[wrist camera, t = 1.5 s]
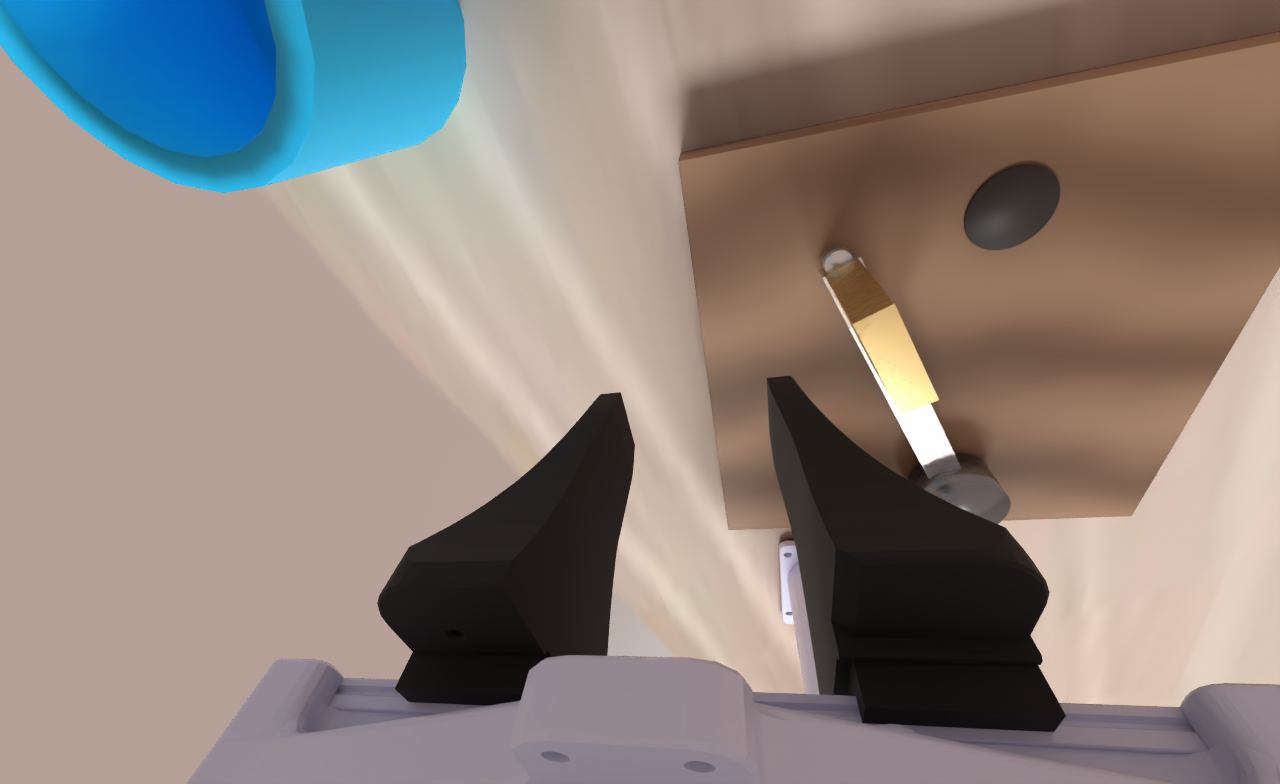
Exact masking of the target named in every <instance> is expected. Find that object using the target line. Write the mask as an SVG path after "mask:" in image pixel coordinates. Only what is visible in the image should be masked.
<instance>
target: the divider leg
mask: <svg viewBox="0 0 1280 784" xmlns="http://www.w3.org/2000/svg"><path fill="white" fill-rule="evenodd" d="M821 264H822V266H823V268H821V269H819V270H818V271H819V273H820V275H821V277H822V279H823V281H824V283H825V284H826V286H827V288H828V290H829V292H830V294H831V296H832V298H833V300H834V301H835V303H836V305H837V307H838V309H839V311H840V313H841V315H842V316H843V318H844V320H845V322H846V324H847V326H848V328H849V330H850V332H851V333H852V335H853V337H854V339H855V341H856V343H857V345H858V347H859V349H860V350H861V352H862V354H863V356H864V358H865V360H866V362H867V364H868V365H869V367H870V369H871V371H872V373H873V375H874V377H875V379H876V381H877V382H878V384H879V386H880V388H881V390H882V392H883V394H884V396H885V398H886V399H887V401H888V403H889V405H890V407H891V409H892V411H893V413H894V415H895V416H896V418H897V420H898V422H899V424H900V426H901V428H902V430H903V431H904V433H905V435H906V437H907V439H908V441H909V443H910V445H911V447H912V448H913V450H914V452H915V454H916V456H917V458H918V460H919V462H920V465H919V466H917V467H916V468H915V469H914V470H913V471H912V473H911V474H910V476H909V478H908V481H910V482H912V483H913V484H915V485H917V486H919V487H920V488H922V489H924V490H926V491H927V492H929V493H931V494H933V495H935V496H937V497H939V498H941V499H943V500H945V501H947V502H949V503H951V504H953V505H955V506H957V507H959V508H961V509H964V510H966V511H968V512H970V513H973V514H975V515H977V516H980V517H982V518H984V519H987V520H989V521H991V522H993V523H996V524H998V523H1000V522H1001V521H1002V520H1003V519H1004V518H1005V517H1006V516H1007V514H1008V512H1009V510H1010V507H1011V501H1010V498H1009V496H1008V495H1007V493H1006V492H1005V491H1004V489H1003V488H1002V486H1001V485H1000V484H999V482H998V481H997V479H996V478H995V477H994V475H993V474H992V472H991V471H990V470H989V468H988V467H987V465H986V464H985V463H984V462H983V461H982V460H981V459H980V458H978V457H976V456H973V455H970V454H964V453H954V452H953V450H952V447H951V445H950V443H949V441H948V439H947V437H946V435H945V433H944V431H943V428H942V426H941V424H940V422H939V420H938V418H937V416H936V414H935V412H934V410H933V407H932V405H931V403H933V402H935V401H938V400H939V399H938V396H937V394H936V392H935V390H934V388H933V386H932V383H931V381H930V379H929V377H928V375H927V373H926V370H925V368H924V366H923V364H922V362H921V360H920V357H919V355H918V353H917V351H916V349H915V347H914V344H913V342H912V340H911V338H910V336H909V334H908V331H907V329H906V327H905V325H904V323H903V321H902V318H901V316H900V314H899V312H898V310H897V308H896V306H895V303H894V302H893V301H892V300H891V298H890V297H889V296H888V295H887V294H886V292H885V291H884V290H883V289H882V287H881V286H880V285H879V284H878V282H877V281H876V280H875V279H874V277H873V276H872V275H871V274H870V273H869V271H868V270H867V269H866V267H865V264H864V262H863V260H862V258H861V256H860V255H859V254H858V253H857V252H856V250H853V251H851V252H849V251H848V250H847V249H846V248H845V247H844V246H842V245H833V246H831V247H829V248H827V249H826V250H825V251H824V252H823V254H822V256H821Z"/></svg>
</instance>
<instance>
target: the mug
mask: <svg viewBox="0 0 1280 784" xmlns="http://www.w3.org/2000/svg"><path fill="white" fill-rule="evenodd" d="M0 45H1V46H2V48H3V49H4V50H5V52H6V53H7V54H8V56H9V57H10V58H11V60H12V61H13V62H14V64H15V65H17V67H19V69H20V70H22V72H23V73H24V74H25V75H26V76H27V77H29V79H30V80H31V81H32V82H33V83H34V84H35V85H36V86H38V88H39V89H40V90H42V92H43V93H44V94H45V95H46V96H47V97H48V98H49V99H50V100H51V101H52V102H53V103H54V104H55V105H57V107H59V109H60V110H61V111H62V112H63V113H64V114H65V115H66V116H67V117H68V118H69V119H71V120H72V121H73V122H75V123H76V124H78V125H79V126H80V127H82V128H83V129H84V130H86V131H87V132H88V133H90V134H91V135H93V136H94V137H95V138H97V139H98V140H100V141H101V142H102V143H103V144H105V145H106V146H108V147H109V148H110V149H112V150H113V151H114V152H116V153H117V154H119V155H120V156H121V157H122V158H124V159H126V160H128V161H130V162H132V163H134V164H136V165H138V166H140V167H142V168H144V169H147V170H149V171H151V172H153V173H155V174H157V175H159V176H161V177H163V178H165V179H168V180H169V181H172V182H174V183H176V184H180V185H185V186H190V187H195V188H200V189H206V190H210V191H216V192H221V193H226V192H232V191H238V190H244V189H250V188H256V187H262V186H266V185H270V184H273V183H277V182H281V181H284V180H288V179H292V178H295V177H299V176H303V175H306V174H310V173H314V172H318V171H321V170H325V169H329V168H332V167H336V166H340V165H343V164H347V163H351V162H354V161H358V160H362V159H365V158H369V157H373V156H377V155H380V154H384V153H388V152H391V151H395V150H399V149H402V148H406V147H410V146H413V145H417V144H419V143H421V142H422V141H424V140H425V139H427V138H428V137H430V136H431V135H432V134H434V133H435V132H437V131H438V130H440V129H441V128H442V127H443V125H444V123H445V122H446V120H447V119H448V117H449V115H450V114H451V112H452V111H453V109H454V107H455V106H456V104H457V103H458V100H459V96H460V91H461V87H462V82H463V78H464V73H465V69H466V51H465V32H464V20H463V16H462V13H461V9H460V6H459V3H458V0H0Z"/></svg>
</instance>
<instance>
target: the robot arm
mask: <svg viewBox="0 0 1280 784" xmlns="http://www.w3.org/2000/svg"><path fill="white" fill-rule="evenodd" d="M767 395H768V415H769V434H770V442H771V449H772V455H773V462H774V468H775V471H776V475H777V479H778V482H779V486H780V490H781V493H782V497H783V501H784V504H785V508H786V511H787V515H788V519H789V522H790V526H791V530H792V533H793V537H794V541H783V542H781V543H780V544H779V560H780V583H781V606H782V620H783V622H784V623H786V624H794V628H795V634H796V640H797V646H798V652H799V658H800V664H801V670H802V677H803V683H804V689H805V694H789V693H761V692H752V689H751V688H750V686H749V685H748V683H747V682H746V681H745V679H744V678H743V677H742V676H741V675H740V674H739V673H738V672H737V671H735V670H733V669H731V668H729V667H726V666H724V665H722V664H720V663H718V662H715V661H708V660H702V659H695V658H684V657H637V656H636V657H635V656H607V650H608V636H609V621H610V610H611V599H612V587H613V578H614V569H615V559H616V552H617V546H618V540H619V536H620V531H621V527H622V522H623V517H624V513H625V508H626V504H627V499H628V494H629V490H630V485H631V480H632V475H633V464H634V449H635V444H634V441H633V437H632V433H631V429H630V426H629V422H628V418H627V414H626V411H625V407H624V403H623V399H622V396H621V392H620V393H610V394H601V395H600V396H599V397H598V398H597V399H596V400H595V401H594V402H593V404H592V405H591V406H590V407H589V408H588V410H587V411H586V412H585V413H584V414H583V416H582V417H581V418H580V419H579V420H578V421H577V423H576V424H575V425H574V426H573V427H572V428H571V429H570V430H569V432H568V433H567V434H566V435H565V436H564V437H563V438H562V439H561V440H560V441H559V442H558V443H557V444H556V445H555V446H554V447H553V448H552V450H551V451H550V452H549V453H548V454H547V455H546V456H545V457H544V458H543V459H542V460H541V461H539V462H538V463H537V464H536V465H535V466H534V467H533V468H532V469H531V470H529V471H528V472H527V473H526V474H525V475H524V476H522V477H521V478H520V479H519V480H518V481H516V482H515V483H514V484H513V485H511V486H510V487H509V488H507V489H506V490H504V491H503V492H502V493H500V494H499V495H498V496H496V497H495V498H493V499H492V500H491V501H489V502H488V503H486V504H485V505H483V506H482V507H480V508H479V509H477V510H476V511H474V512H473V513H471V514H469V515H468V516H466V517H464V518H463V519H461V520H460V521H458V522H456V523H454V524H453V525H451V526H449V527H447V528H445V529H444V530H442V531H440V532H438V533H436V534H434V535H432V536H430V537H428V538H427V539H424V540H423V541H421V542H419V543H417V544H415V545H412V546H411V547H409V548H408V550H407V552H406V553H405V555H404V557H403V558H402V560H401V561H400V563H399V564H398V566H397V568H396V569H395V571H394V573H393V574H392V576H391V577H390V579H389V581H388V582H387V584H386V586H385V587H384V589H383V590H382V592H381V594H380V596H379V599H378V607H379V611H380V614H381V616H382V618H383V619H384V620H385V622H386V623H387V624H388V625H389V626H390V628H391V629H392V630H393V631H394V632H395V633H396V634H397V635H398V636H399V637H400V638H401V639H402V640H403V642H404V643H405V644H406V645H407V646H408V647H409V648H410V649H411V650H412V651H413V653H412V655H411V657H410V659H409V661H408V663H407V665H406V667H405V669H404V671H403V673H402V675H401V677H400V679H399V680H392V679H391V680H390V679H364V678H343V676H342V674H341V673H340V672H339V671H338V670H337V669H336V668H335V667H334V666H332V665H330V664H329V663H327V662H324V661H321V660H315V659H278V660H276V661H275V662H274V663H273V665H272V666H271V667H270V669H269V670H268V672H267V673H266V674H265V676H264V677H263V678H262V680H261V681H260V683H259V684H258V685H257V687H256V688H255V690H254V691H253V693H252V694H251V695H250V697H249V698H248V699H247V701H246V702H245V703H244V705H243V706H242V708H241V709H240V711H239V712H238V713H237V715H236V716H235V718H234V719H233V720H232V722H231V723H230V724H229V726H228V727H227V729H226V730H225V731H224V733H223V734H222V735H221V737H220V738H219V740H218V741H217V742H216V744H215V745H214V747H213V748H212V749H211V751H210V752H209V754H208V755H207V756H206V758H205V759H204V760H203V762H202V763H201V765H200V766H199V767H198V769H197V770H196V772H195V773H194V774H193V776H192V777H191V778H190V780H189V782H188V783H187V784H1280V685H1273V684H1234V683H1223V684H1211V685H1207V686H1203V687H1199V688H1197V689H1195V690H1193V691H1192V692H1190V693H1189V694H1188V695H1187V696H1186V697H1185V699H1184V700H1183V702H1182V704H1181V706H1180V707H1157V706H1129V705H1100V704H1072V703H1059V702H1058V700H1057V699H1056V697H1055V695H1054V693H1053V691H1052V690H1051V688H1050V686H1049V684H1048V682H1047V681H1046V679H1045V677H1044V675H1043V674H1042V672H1041V670H1040V668H1039V666H1038V665H1041V663H1042V661H1043V660H1042V655H1041V653H1040V652H1039V650H1038V648H1037V646H1036V645H1035V643H1034V641H1033V639H1032V638H1031V636H1030V635H1031V633H1032V631H1033V629H1034V627H1035V625H1036V623H1037V621H1038V620H1039V618H1040V616H1041V614H1042V612H1043V610H1044V608H1045V606H1046V604H1047V600H1048V596H1049V590H1048V586H1047V583H1046V581H1045V579H1044V578H1043V576H1042V575H1041V573H1040V572H1039V570H1038V569H1037V567H1036V566H1035V564H1034V563H1033V561H1032V560H1031V558H1030V557H1029V556H1028V554H1027V553H1026V552H1025V551H1024V549H1023V548H1022V547H1021V546H1020V544H1019V543H1018V542H1017V541H1016V540H1015V539H1014V538H1013V536H1012V535H1011V534H1010V533H1009V531H1008V530H1007V529H1006V528H1005V527H1003V526H1000V525H998V524H996V523H993V522H991V521H989V520H987V519H984V518H982V517H980V516H977V515H975V514H973V513H970V512H968V511H966V510H964V509H961V508H959V507H957V506H955V505H953V504H951V503H949V502H947V501H945V500H943V499H941V498H939V497H937V496H935V495H933V494H931V493H929V492H927V491H926V490H924V489H922V488H920V487H919V486H917V485H915V484H913V483H912V482H910V481H908V480H907V479H905V478H903V477H902V476H900V475H899V474H897V473H895V472H894V471H892V470H890V469H889V468H887V467H886V466H884V465H883V464H881V463H880V462H879V461H877V460H876V459H874V458H873V457H872V456H870V455H869V454H868V453H866V452H865V451H864V450H863V449H861V448H860V447H859V446H858V445H856V444H855V443H854V442H853V441H852V440H851V439H849V438H848V437H847V436H846V435H845V434H844V433H843V432H842V431H840V430H839V429H838V428H837V427H836V426H835V425H834V424H833V423H832V422H831V421H830V420H829V419H828V418H827V417H826V416H825V415H824V414H823V413H822V412H821V411H820V410H819V409H818V408H817V406H816V405H815V404H814V403H813V402H812V401H811V400H810V399H809V397H808V396H807V395H806V394H805V393H804V391H803V390H802V389H801V388H800V386H799V385H798V384H797V382H796V381H795V379H794V378H792V377H791V376H781V377H771V378H767Z"/></svg>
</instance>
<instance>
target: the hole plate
mask: <svg viewBox="0 0 1280 784" xmlns="http://www.w3.org/2000/svg"><path fill="white" fill-rule="evenodd" d="M679 169H680V176H681V184H682V191H683V198H684V206H685V213H686V220H687V228H688V235H689V243H690V250H691V257H692V265H693V272H694V279H695V287H696V294H697V302H698V309H699V316H700V324H701V331H702V339H703V346H704V353H705V361H706V368H707V375H708V383H709V390H710V398H711V405H712V412H713V420H714V427H715V434H716V442H717V449H718V457H719V464H720V471H721V479H722V486H723V493H724V501H725V508H726V516H727V523H728V530H741V529H770V528H791V526H790V522H789V519H788V515H787V511H786V508H785V504H784V501H783V497H782V493H781V490H780V486H779V482H778V479H777V475H776V471H775V468H774V462H773V455H772V449H771V442H770V434H769V415H768V395H767V378H771V377H781V376H791V377H792V378H794V379H795V381H796V382H797V384H798V385H799V386H800V388H801V389H802V390H803V391H804V393H805V394H806V395H807V396H808V397H809V399H810V400H811V401H812V402H813V403H814V404H815V405H816V406H817V408H818V409H819V410H820V411H821V412H822V413H823V414H824V415H825V416H826V417H827V418H828V419H829V420H830V421H831V422H832V423H833V424H834V425H835V426H836V427H837V428H838V429H839V430H840V431H842V432H843V433H844V434H845V435H846V436H847V437H848V438H849V439H851V440H852V441H853V442H854V443H855V444H856V445H858V446H859V447H860V448H861V449H863V450H864V451H865V452H866V453H868V454H869V455H870V456H872V457H873V458H874V459H876V460H877V461H879V462H880V463H881V464H883V465H884V466H886V467H887V468H889V469H890V470H892V471H894V472H895V473H897V474H899V475H900V476H902V477H903V478H905V479H907V480H908V478H909V476H910V474H911V473H912V471H913V470H914V469H915V468H916V467H917V466H919V465H920V462H919V460H918V458H917V456H916V454H915V452H914V450H913V448H912V447H911V445H910V443H909V441H908V439H907V437H906V435H905V433H904V431H903V430H902V428H901V426H900V424H899V422H898V420H897V418H896V416H895V415H894V413H893V411H892V409H891V407H890V405H889V403H888V401H887V399H886V398H885V396H884V394H883V392H882V390H881V388H880V386H879V384H878V382H877V381H876V379H875V377H874V375H873V373H872V371H871V369H870V367H869V365H868V364H867V362H866V360H865V358H864V356H863V354H862V352H861V350H860V349H859V347H858V345H857V343H856V341H855V339H854V337H853V335H852V333H851V332H850V330H849V328H848V326H847V324H846V322H845V320H844V318H843V316H842V315H841V313H840V311H839V309H838V307H837V305H836V303H835V301H834V300H833V298H832V296H831V294H830V292H829V290H828V288H827V286H826V284H825V283H824V281H823V279H822V277H821V275H820V273H819V271H818V270H819V269H821V268H823V266H822V264H821V256H822V254H823V252H824V251H825V250H826V249H827V248H829V247H831V246H833V245H842V246H844V247H845V248H846V249H847V250H848V251H849V252H851V251H853V250H856V252H857V253H858V254H859V255H860V256H861V258H862V260H863V262H864V264H865V267H866V269H867V270H868V271H869V273H870V274H871V275H872V276H873V277H874V279H875V280H876V281H877V282H878V284H879V285H880V286H881V287H882V289H883V290H884V291H885V292H886V294H887V295H888V296H889V297H890V298H891V300H892V301H893V302H894V303H895V306H896V308H897V310H898V312H899V314H900V316H901V318H902V321H903V323H904V325H905V327H906V329H907V331H908V334H909V336H910V338H911V340H912V342H913V344H914V347H915V349H916V351H917V353H918V355H919V357H920V360H921V362H922V364H923V366H924V368H925V370H926V373H927V375H928V377H929V379H930V381H931V383H932V386H933V388H934V390H935V392H936V394H937V396H938V399H939V400H938V401H935V402H933V403H931V405H932V407H933V410H934V412H935V414H936V416H937V418H938V420H939V422H940V424H941V426H942V428H943V431H944V433H945V435H946V437H947V439H948V441H949V443H950V445H951V447H952V450H953V452H954V453H964V454H970V455H973V456H976V457H978V458H980V459H981V460H982V461H983V462H984V463H985V464H986V465H987V467H988V468H989V470H990V471H991V472H992V474H993V475H994V477H995V478H996V479H997V481H998V482H999V484H1000V485H1001V486H1002V488H1003V489H1004V491H1005V492H1006V493H1007V495H1008V496H1009V498H1010V501H1011V507H1010V510H1009V512H1008V514H1007V516H1006V517H1005V518H1004V519H1003V520H1030V519H1059V518H1088V517H1117V516H1132V514H1133V513H1134V511H1135V509H1136V508H1137V506H1138V504H1139V503H1140V501H1141V499H1142V497H1143V496H1144V494H1145V492H1146V491H1147V489H1148V487H1149V486H1150V484H1151V482H1152V481H1153V479H1154V477H1155V476H1156V474H1157V472H1158V471H1159V469H1160V467H1161V466H1162V464H1163V462H1164V460H1165V459H1166V457H1167V455H1168V454H1169V452H1170V450H1171V449H1172V447H1173V445H1174V444H1175V442H1176V440H1177V439H1178V437H1179V435H1180V434H1181V432H1182V430H1183V429H1184V427H1185V425H1186V424H1187V422H1188V420H1189V418H1190V417H1191V415H1192V413H1193V412H1194V410H1195V408H1196V407H1197V405H1198V403H1199V402H1200V400H1201V398H1202V397H1203V395H1204V393H1205V392H1206V390H1207V388H1208V387H1209V385H1210V383H1211V381H1212V380H1213V378H1214V376H1215V375H1216V373H1217V371H1218V370H1219V368H1220V366H1221V365H1222V363H1223V361H1224V360H1225V358H1226V356H1227V355H1228V353H1229V351H1230V350H1231V348H1232V346H1233V345H1234V343H1235V341H1236V339H1237V338H1238V336H1239V334H1240V333H1241V331H1242V329H1243V328H1244V326H1245V324H1246V323H1247V321H1248V319H1249V318H1250V316H1251V314H1252V313H1253V311H1254V309H1255V308H1256V306H1257V304H1258V302H1259V301H1260V299H1261V297H1262V296H1263V294H1264V292H1265V291H1266V289H1267V287H1268V286H1269V284H1270V282H1271V281H1272V279H1273V277H1274V276H1275V274H1276V272H1277V271H1278V269H1279V267H1280V31H1279V32H1275V33H1270V34H1265V35H1260V36H1255V37H1250V38H1245V39H1240V40H1235V41H1230V42H1225V43H1220V44H1215V45H1210V46H1205V47H1201V48H1196V49H1191V50H1186V51H1181V52H1176V53H1171V54H1166V55H1161V56H1156V57H1151V58H1146V59H1141V60H1136V61H1131V62H1126V63H1122V64H1117V65H1112V66H1107V67H1102V68H1097V69H1092V70H1087V71H1082V72H1077V73H1072V74H1067V75H1062V76H1057V77H1052V78H1048V79H1043V80H1038V81H1033V82H1028V83H1023V84H1018V85H1013V86H1008V87H1003V88H998V89H993V90H988V91H983V92H978V93H974V94H969V95H964V96H959V97H954V98H949V99H944V100H939V101H934V102H929V103H924V104H919V105H914V106H909V107H904V108H900V109H895V110H890V111H885V112H880V113H875V114H870V115H865V116H860V117H855V118H850V119H845V120H840V121H835V122H830V123H825V124H821V125H816V126H811V127H806V128H801V129H796V130H791V131H786V132H781V133H776V134H771V135H766V136H761V137H756V138H751V139H747V140H742V141H737V142H732V143H727V144H722V145H717V146H712V147H707V148H702V149H697V150H692V151H687V152H682V153H681V154H680V158H679Z"/></svg>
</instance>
